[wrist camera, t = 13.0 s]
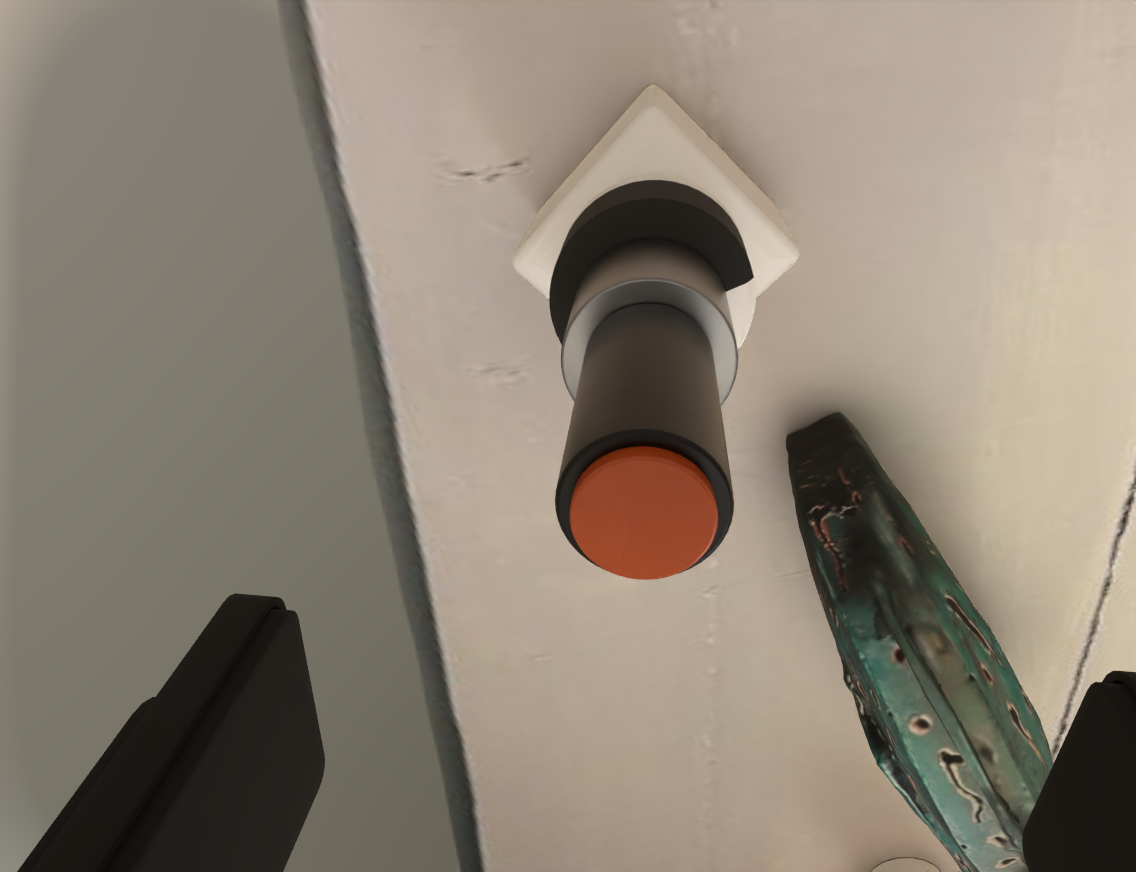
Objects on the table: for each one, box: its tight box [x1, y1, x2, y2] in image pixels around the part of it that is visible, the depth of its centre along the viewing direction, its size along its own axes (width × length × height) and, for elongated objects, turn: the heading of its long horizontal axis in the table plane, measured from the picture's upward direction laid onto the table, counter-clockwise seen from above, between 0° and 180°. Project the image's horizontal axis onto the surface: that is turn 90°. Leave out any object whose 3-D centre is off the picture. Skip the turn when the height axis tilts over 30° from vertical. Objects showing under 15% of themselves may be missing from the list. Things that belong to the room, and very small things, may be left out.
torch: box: [555, 239, 738, 580], centre depth 19 cm, size 4×4×10 cm
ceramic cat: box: [786, 413, 1053, 872], centre depth 32 cm, size 20×6×20 cm, turn 34°
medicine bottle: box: [512, 85, 799, 350], centre depth 28 cm, size 7×7×12 cm
